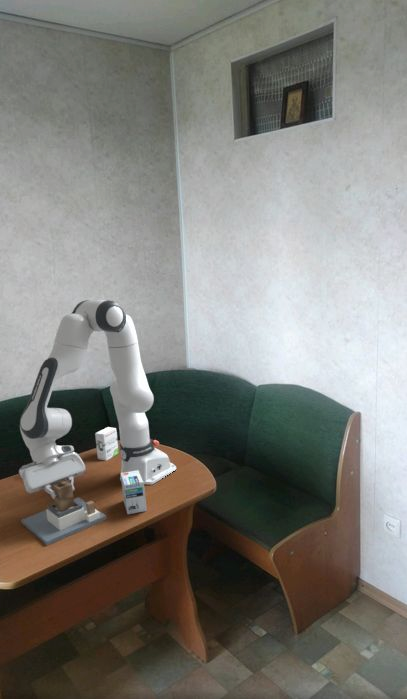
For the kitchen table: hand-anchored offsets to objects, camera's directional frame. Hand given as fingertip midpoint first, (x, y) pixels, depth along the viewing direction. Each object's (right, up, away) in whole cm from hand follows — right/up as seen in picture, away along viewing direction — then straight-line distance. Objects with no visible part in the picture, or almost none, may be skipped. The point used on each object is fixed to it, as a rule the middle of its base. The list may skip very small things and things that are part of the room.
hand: (64, 494), depth 172 cm
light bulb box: (+21, -7, +12) cm, 25 cm away
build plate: (-1, -10, +4) cm, 11 cm away
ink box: (+4, +1, +56) cm, 56 cm away
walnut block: (0, -4, +1) cm, 4 cm away
